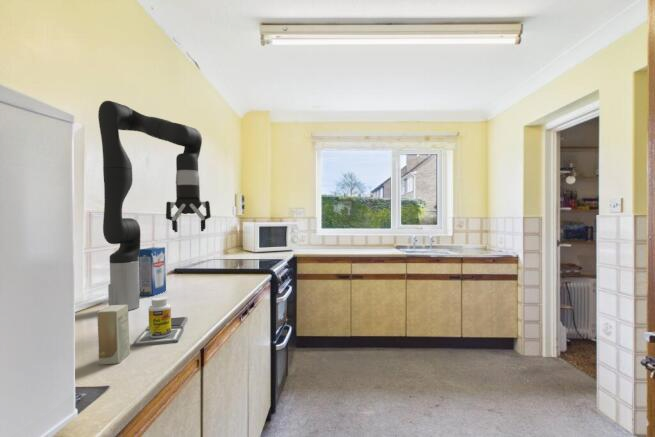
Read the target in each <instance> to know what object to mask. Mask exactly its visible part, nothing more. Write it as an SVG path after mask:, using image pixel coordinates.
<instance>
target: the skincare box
mask: <svg viewBox="0 0 655 437" xmlns="http://www.w3.org/2000/svg"><path fill="white" fill-rule="evenodd" d="M96 314H97V331H98V332H97V336H98V337H97V340H98V341H97V342H98V360H99V361H98V362H99V364H98V365H117V364H119V363H121V362H122V361H123V360H124V359H126V358H127V357H128V356H129V355H130V350H131V348H130V325H129V324H130V323H129V322H130V321H129V310H128V305H110V306H109V305H108V306H106V307H104V308H103V309H101V310H99V311H97V313H96Z"/></svg>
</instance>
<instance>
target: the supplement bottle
mask: <svg viewBox="0 0 655 437" xmlns="http://www.w3.org/2000/svg"><path fill="white" fill-rule="evenodd" d="M168 302H169V301H168V297H166V296H161V297H154V298H152V299H151V305H150V306H149V307H148V326H149V336H150V337H151V338H163V337H167V336H169V335H170V334H171V318H172V312H171V311H172V308H171V307H172V306H171V304H169V303H168Z"/></svg>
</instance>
